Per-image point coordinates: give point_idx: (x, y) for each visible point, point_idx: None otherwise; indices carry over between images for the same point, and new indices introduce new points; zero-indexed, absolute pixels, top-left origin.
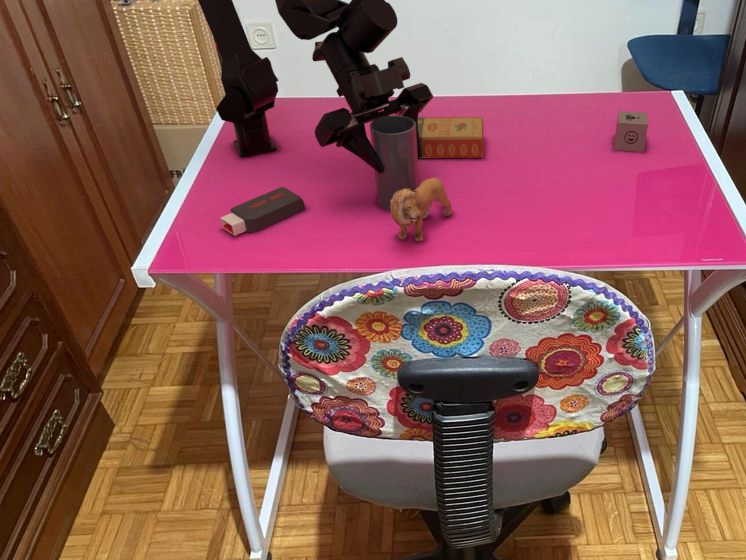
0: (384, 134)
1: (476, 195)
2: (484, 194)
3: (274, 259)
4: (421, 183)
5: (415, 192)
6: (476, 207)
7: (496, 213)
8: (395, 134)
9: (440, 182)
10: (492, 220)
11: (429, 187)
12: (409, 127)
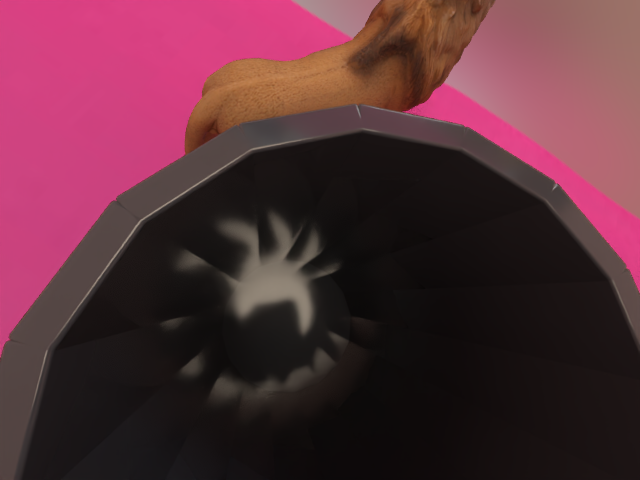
0: (582, 215)
1: (42, 211)
2: (12, 201)
3: (625, 230)
4: (297, 106)
5: (362, 48)
6: (100, 150)
7: (71, 88)
8: (482, 136)
9: (220, 68)
10: (111, 68)
11: (286, 62)
12: (110, 466)
